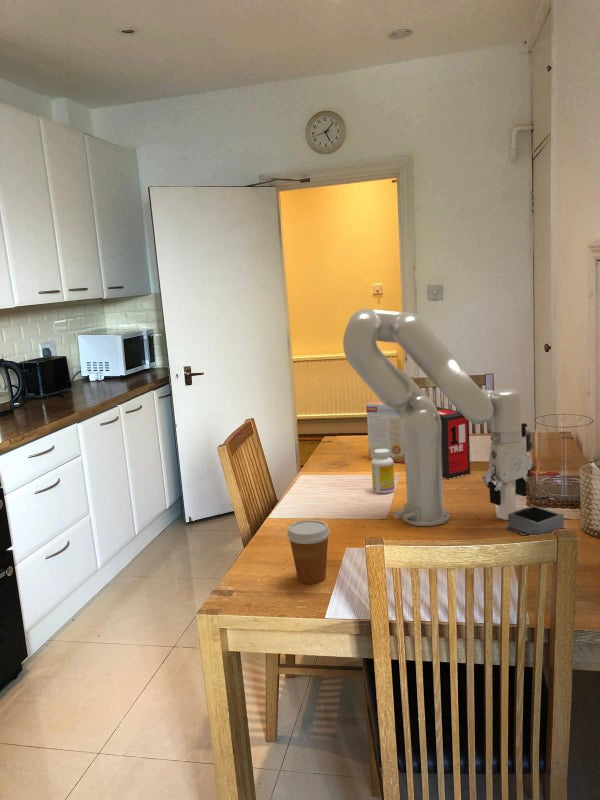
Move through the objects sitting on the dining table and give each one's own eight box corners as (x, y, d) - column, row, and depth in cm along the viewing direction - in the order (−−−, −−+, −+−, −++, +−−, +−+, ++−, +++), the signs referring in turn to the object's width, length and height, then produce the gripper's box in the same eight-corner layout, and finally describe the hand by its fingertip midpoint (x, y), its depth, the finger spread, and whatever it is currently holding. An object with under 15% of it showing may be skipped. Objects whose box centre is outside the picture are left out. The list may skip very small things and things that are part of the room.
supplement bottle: (399, 489, 204) (397, 449, 202) (386, 495, 200) (384, 454, 197) (381, 486, 209) (379, 446, 207) (368, 492, 204) (366, 451, 202)
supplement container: (532, 473, 211) (532, 436, 209) (497, 472, 215) (497, 436, 213) (534, 464, 220) (533, 429, 218) (501, 463, 224) (500, 428, 222)
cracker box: (411, 459, 237) (409, 401, 233) (404, 463, 232) (402, 404, 228) (376, 455, 244) (373, 400, 240) (368, 460, 239) (365, 403, 235)
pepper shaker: (504, 521, 173) (503, 480, 171) (492, 514, 178) (492, 475, 176) (522, 518, 175) (521, 477, 173) (510, 511, 180) (510, 472, 178)
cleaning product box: (417, 467, 226) (414, 410, 222) (438, 463, 229) (436, 406, 226) (448, 479, 211) (446, 418, 207) (470, 474, 215) (468, 413, 211)
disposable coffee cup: (284, 585, 146) (280, 533, 144) (299, 566, 155) (295, 517, 153) (325, 589, 143) (321, 536, 140) (338, 570, 151) (335, 520, 149)
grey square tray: (538, 541, 159) (538, 524, 159) (506, 529, 168) (506, 513, 167) (566, 530, 164) (566, 515, 164) (533, 519, 173) (533, 504, 172)
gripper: (493, 445, 165) (496, 511, 168) (540, 432, 174) (542, 495, 177) (471, 440, 172) (474, 503, 175) (518, 428, 180) (520, 488, 183)
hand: (508, 499), depth 176 cm, fingers open, 9 cm apart
